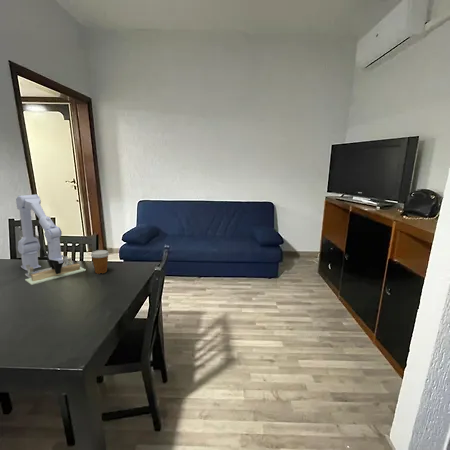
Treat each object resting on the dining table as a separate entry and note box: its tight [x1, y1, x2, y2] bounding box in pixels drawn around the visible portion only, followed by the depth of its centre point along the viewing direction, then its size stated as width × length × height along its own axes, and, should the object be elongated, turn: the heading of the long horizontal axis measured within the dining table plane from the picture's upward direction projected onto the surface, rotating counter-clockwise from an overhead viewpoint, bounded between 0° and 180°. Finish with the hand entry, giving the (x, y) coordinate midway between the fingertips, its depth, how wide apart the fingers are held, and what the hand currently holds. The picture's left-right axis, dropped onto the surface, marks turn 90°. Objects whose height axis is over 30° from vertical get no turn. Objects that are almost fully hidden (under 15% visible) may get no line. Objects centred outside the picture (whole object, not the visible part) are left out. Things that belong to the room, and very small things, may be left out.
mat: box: [24, 266, 87, 286], centre depth 159 cm, size 9×28×1 cm, turn 141°
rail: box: [31, 262, 81, 281], centre depth 159 cm, size 3×24×3 cm, turn 141°
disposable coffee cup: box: [90, 249, 110, 275], centre depth 165 cm, size 10×10×12 cm
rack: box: [24, 255, 72, 278], centre depth 164 cm, size 7×23×6 cm, turn 141°
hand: (56, 272), depth 159 cm, fingers open, 3 cm apart
